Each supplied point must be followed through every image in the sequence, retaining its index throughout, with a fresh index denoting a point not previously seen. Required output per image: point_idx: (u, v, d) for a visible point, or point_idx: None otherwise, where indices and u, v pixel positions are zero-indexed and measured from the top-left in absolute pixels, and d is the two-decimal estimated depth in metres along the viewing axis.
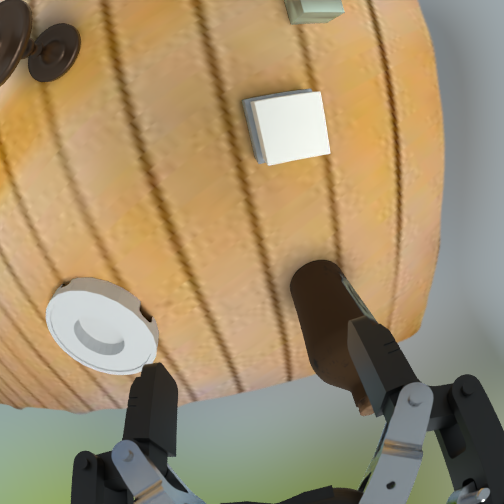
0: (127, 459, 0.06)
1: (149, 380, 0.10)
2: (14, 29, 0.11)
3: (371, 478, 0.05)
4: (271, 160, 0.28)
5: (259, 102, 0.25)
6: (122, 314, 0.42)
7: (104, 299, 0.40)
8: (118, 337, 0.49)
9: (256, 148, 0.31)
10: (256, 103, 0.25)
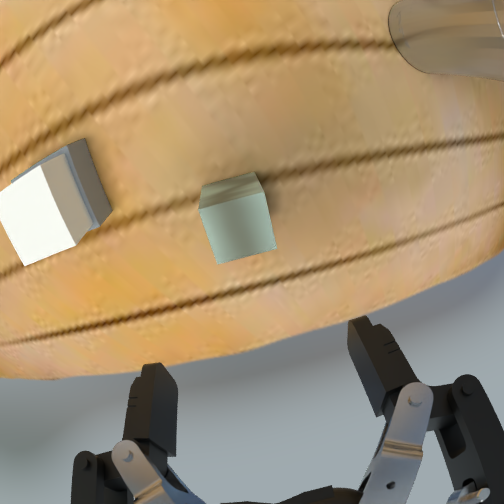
0: (127, 459, 0.06)
1: (149, 380, 0.10)
2: None
3: (371, 478, 0.05)
4: None
5: (40, 171, 0.15)
6: None
7: None
8: None
9: (22, 173, 0.18)
10: (39, 168, 0.15)
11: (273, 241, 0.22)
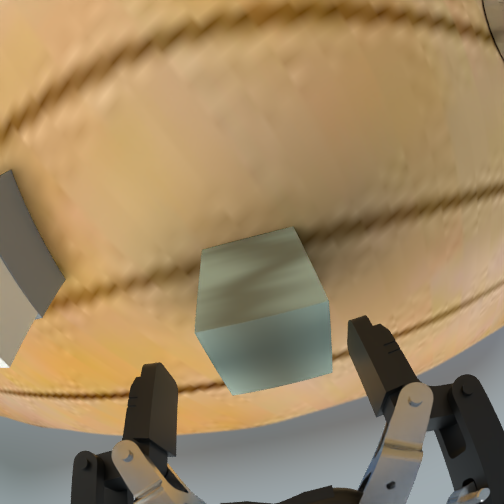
0: (127, 459, 0.06)
1: (149, 380, 0.10)
2: None
3: (371, 478, 0.05)
4: None
5: None
6: None
7: None
8: None
9: None
10: None
11: (329, 365, 0.12)
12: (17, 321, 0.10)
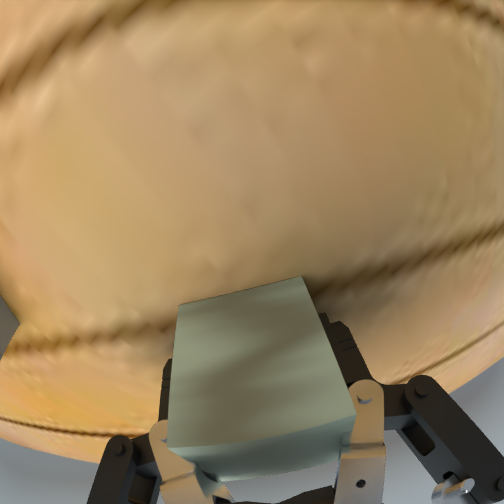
0: None
1: None
2: None
3: (338, 481, 0.05)
4: None
5: None
6: None
7: None
8: None
9: None
10: None
11: None
12: None
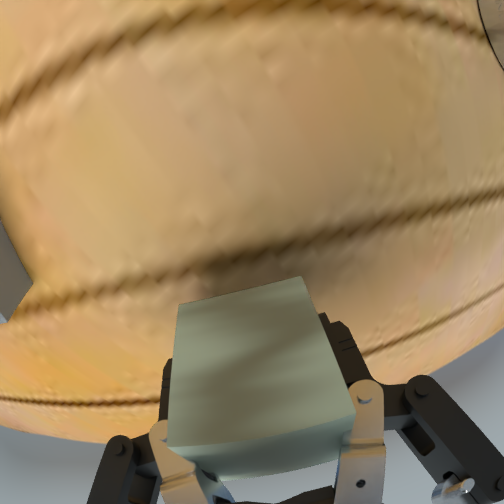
0: None
1: None
2: None
3: (338, 481, 0.05)
4: None
5: None
6: None
7: None
8: None
9: None
10: None
11: None
12: None
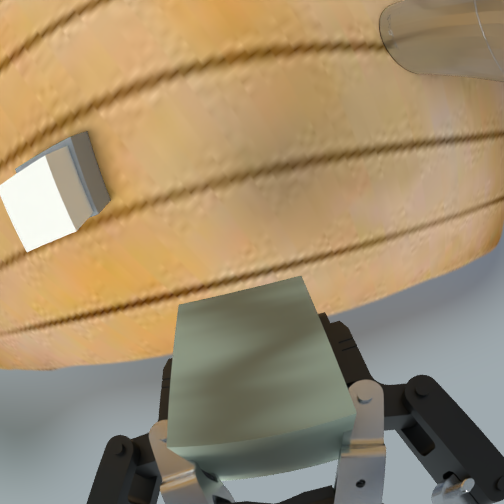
0: None
1: None
2: None
3: (338, 481, 0.05)
4: (1, 189, 0.16)
5: (45, 161, 0.16)
6: None
7: None
8: None
9: (27, 162, 0.19)
10: (44, 158, 0.16)
11: None
12: (83, 210, 0.21)
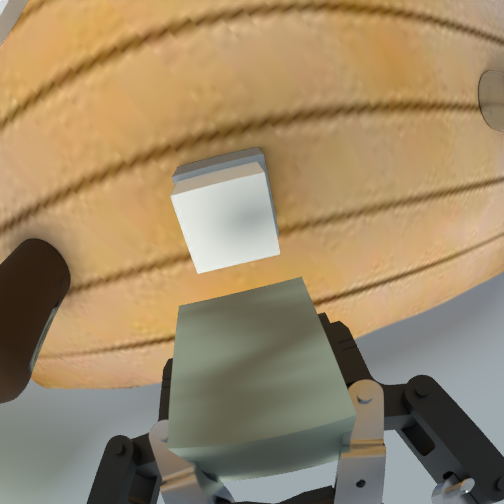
0: (167, 439, 0.07)
1: None
2: None
3: (338, 481, 0.05)
4: (178, 199, 0.20)
5: (263, 179, 0.20)
6: None
7: (5, 0, 0.08)
8: None
9: (193, 172, 0.23)
10: (262, 175, 0.20)
11: None
12: None
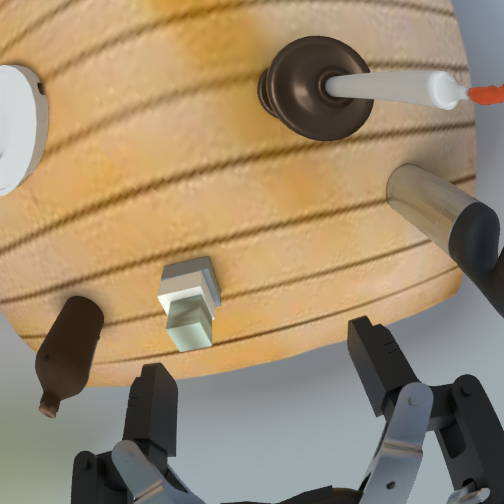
0: (127, 459, 0.06)
1: (149, 380, 0.10)
2: (326, 120, 0.24)
3: (371, 478, 0.05)
4: (161, 297, 0.40)
5: (200, 288, 0.40)
6: (18, 164, 0.30)
7: (30, 146, 0.29)
8: None
9: (172, 277, 0.44)
10: (199, 287, 0.40)
11: (209, 342, 0.38)
12: (213, 305, 0.45)
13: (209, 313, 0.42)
